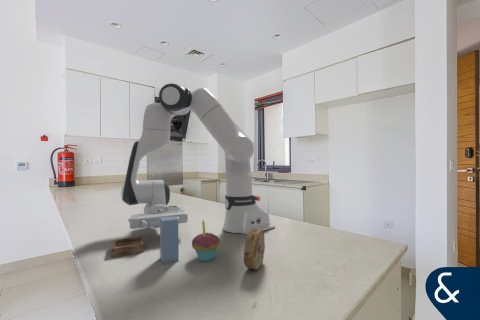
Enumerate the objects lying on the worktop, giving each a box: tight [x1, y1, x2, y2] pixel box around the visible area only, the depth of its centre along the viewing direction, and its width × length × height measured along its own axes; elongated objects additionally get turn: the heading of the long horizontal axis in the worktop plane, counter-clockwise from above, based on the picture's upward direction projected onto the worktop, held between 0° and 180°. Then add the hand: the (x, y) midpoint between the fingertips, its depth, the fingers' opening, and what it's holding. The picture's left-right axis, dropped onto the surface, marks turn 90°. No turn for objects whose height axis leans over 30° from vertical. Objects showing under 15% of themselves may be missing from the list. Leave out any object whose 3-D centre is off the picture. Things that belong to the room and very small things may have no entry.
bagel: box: [243, 229, 266, 271], centre depth 64 cm, size 10×4×10 cm, turn 157°
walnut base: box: [110, 235, 144, 258], centre depth 77 cm, size 9×9×2 cm
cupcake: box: [191, 219, 221, 262], centre depth 70 cm, size 9×8×12 cm
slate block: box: [159, 216, 180, 264], centre depth 70 cm, size 4×4×12 cm
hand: (162, 224), depth 80 cm, fingers open, 8 cm apart
